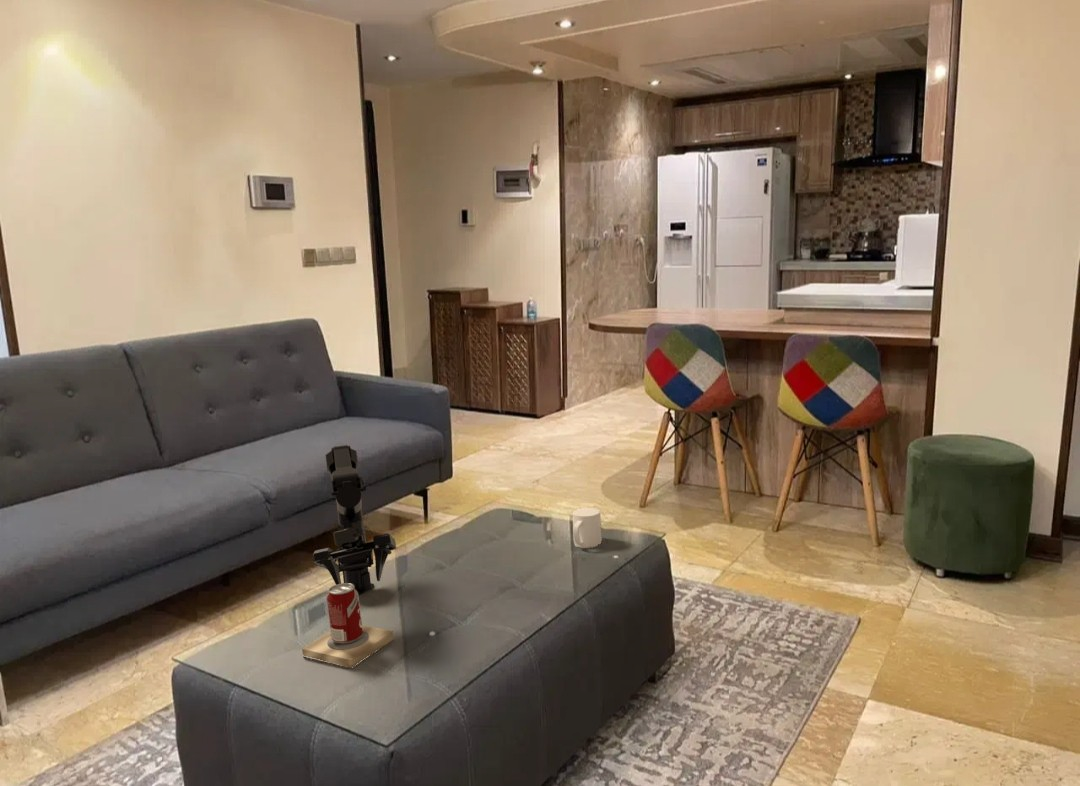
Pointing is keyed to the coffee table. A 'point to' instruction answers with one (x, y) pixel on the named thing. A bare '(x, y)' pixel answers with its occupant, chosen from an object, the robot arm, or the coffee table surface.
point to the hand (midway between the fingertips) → (359, 585)
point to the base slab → (349, 647)
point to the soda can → (344, 613)
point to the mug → (586, 527)
